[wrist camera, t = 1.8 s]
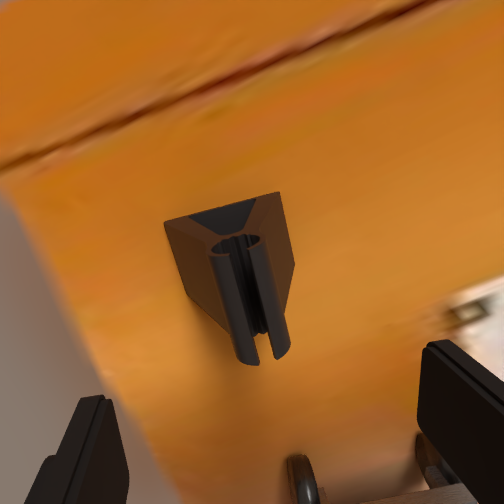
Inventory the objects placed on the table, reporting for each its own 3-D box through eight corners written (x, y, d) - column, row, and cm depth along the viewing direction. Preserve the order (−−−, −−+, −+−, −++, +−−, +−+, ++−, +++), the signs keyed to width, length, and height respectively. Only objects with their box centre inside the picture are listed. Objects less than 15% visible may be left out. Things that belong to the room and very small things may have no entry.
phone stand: (186, 291, 29) (179, 389, 18) (163, 220, 27) (139, 278, 16) (293, 262, 30) (353, 338, 18) (278, 191, 28) (335, 226, 16)
